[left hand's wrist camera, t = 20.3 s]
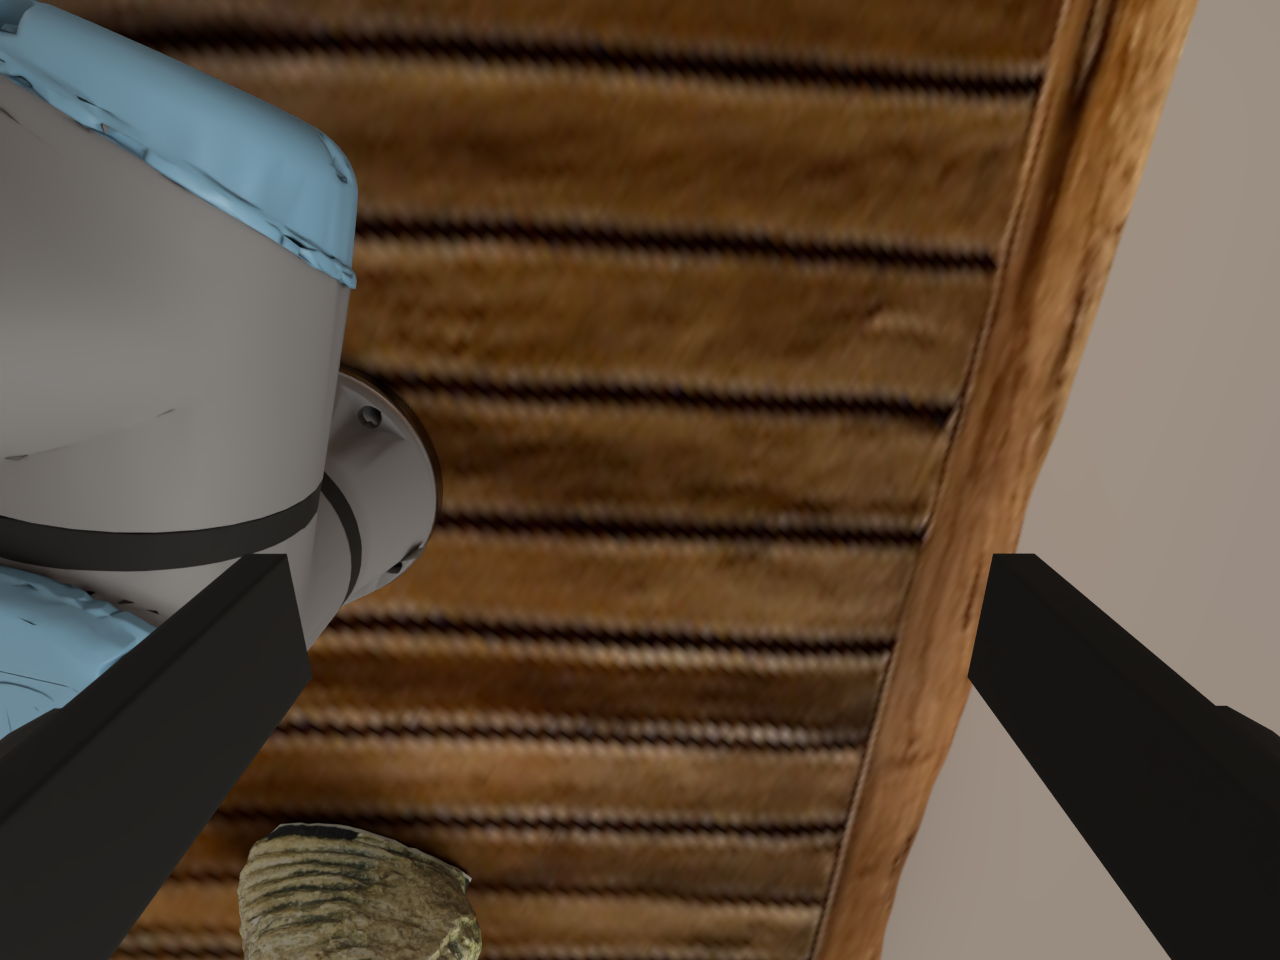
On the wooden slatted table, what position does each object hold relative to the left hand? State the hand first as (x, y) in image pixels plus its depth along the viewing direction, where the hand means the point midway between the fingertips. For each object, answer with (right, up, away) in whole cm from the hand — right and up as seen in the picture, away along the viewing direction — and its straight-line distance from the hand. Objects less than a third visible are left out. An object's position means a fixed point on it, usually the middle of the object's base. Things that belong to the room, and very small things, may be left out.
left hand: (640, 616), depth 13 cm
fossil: (-21, -28, +42) cm, 55 cm away
